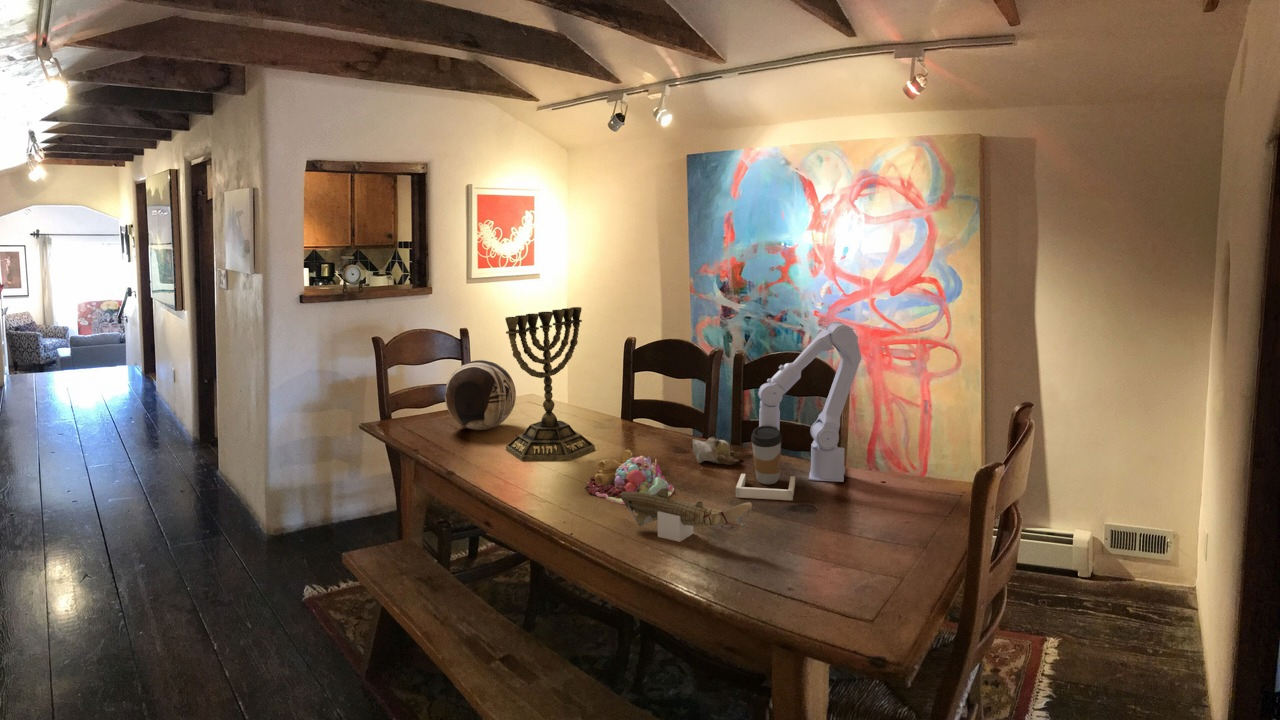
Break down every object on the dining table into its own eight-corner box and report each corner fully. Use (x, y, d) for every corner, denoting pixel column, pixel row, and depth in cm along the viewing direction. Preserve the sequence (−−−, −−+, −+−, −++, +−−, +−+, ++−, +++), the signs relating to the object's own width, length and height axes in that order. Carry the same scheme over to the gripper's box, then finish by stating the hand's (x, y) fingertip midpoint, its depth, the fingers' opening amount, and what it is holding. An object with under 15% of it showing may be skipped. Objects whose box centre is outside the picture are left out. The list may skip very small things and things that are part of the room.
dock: (794, 485, 228) (795, 476, 228) (792, 500, 215) (792, 491, 215) (741, 482, 231) (741, 473, 231) (735, 497, 219) (735, 488, 218)
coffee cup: (775, 489, 226) (773, 442, 220) (747, 482, 231) (745, 436, 224) (788, 474, 232) (786, 428, 226) (760, 467, 237) (758, 422, 230)
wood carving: (742, 559, 178) (742, 509, 176) (611, 528, 198) (610, 483, 196) (760, 546, 185) (760, 498, 183) (632, 517, 205) (631, 473, 203)
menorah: (546, 469, 247) (540, 319, 240) (483, 458, 260) (476, 316, 253) (613, 441, 277) (610, 308, 270) (553, 433, 290) (549, 305, 283)
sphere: (435, 436, 288) (431, 366, 284) (462, 420, 313) (458, 354, 309) (504, 438, 284) (501, 366, 280) (525, 421, 309) (523, 355, 305)
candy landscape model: (569, 491, 227) (568, 458, 226) (627, 471, 245) (626, 441, 243) (637, 510, 211) (637, 475, 209) (694, 488, 228) (694, 455, 227)
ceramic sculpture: (694, 429, 256) (743, 433, 254) (693, 456, 258) (741, 461, 255) (690, 438, 246) (741, 443, 243) (689, 466, 247) (739, 471, 245)
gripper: (757, 419, 240) (756, 464, 242) (752, 431, 226) (751, 479, 229) (782, 420, 239) (781, 465, 241) (778, 432, 225) (777, 480, 227)
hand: (768, 472), depth 235 cm, fingers closed, pressing on coffee cup
